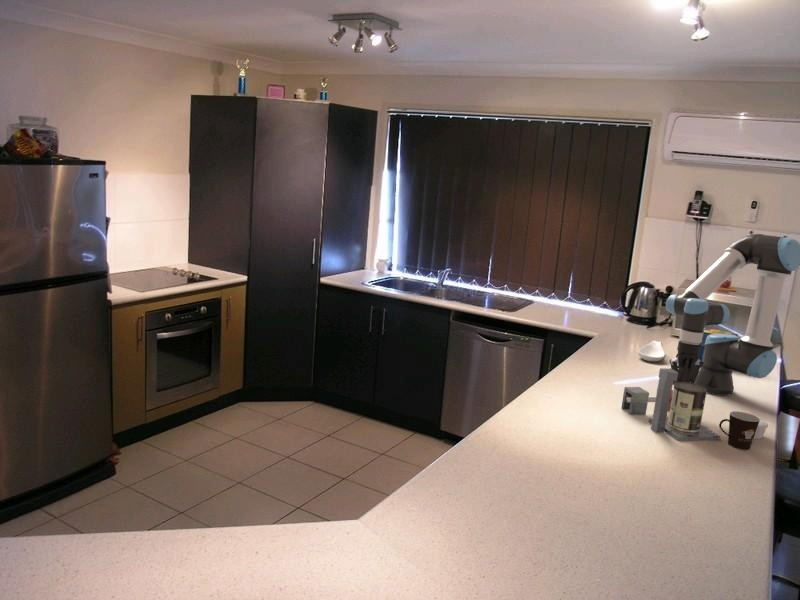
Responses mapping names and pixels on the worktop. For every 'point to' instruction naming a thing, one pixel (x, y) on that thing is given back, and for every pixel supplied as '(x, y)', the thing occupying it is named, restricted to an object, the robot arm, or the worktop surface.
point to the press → (662, 408)
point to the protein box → (705, 334)
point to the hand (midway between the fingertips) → (678, 404)
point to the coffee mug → (741, 429)
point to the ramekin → (760, 429)
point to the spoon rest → (652, 352)
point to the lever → (653, 399)
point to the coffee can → (687, 407)
